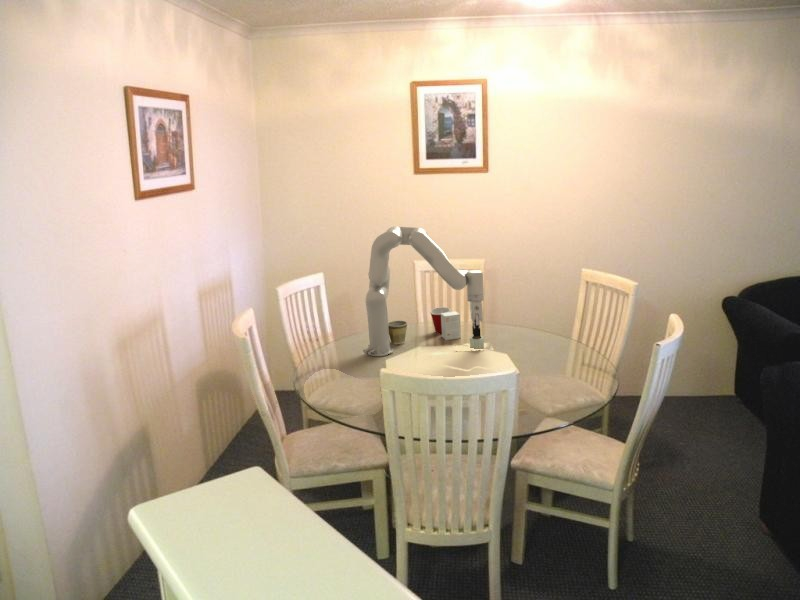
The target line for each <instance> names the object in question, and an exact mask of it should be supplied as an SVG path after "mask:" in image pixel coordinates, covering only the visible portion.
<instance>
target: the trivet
mask: <svg viewBox="0 0 800 600" xmlns="http://www.w3.org/2000/svg"><path fill="white" fill-rule="evenodd" d="M456 345H468V346H470V342H467V343H453V344H452V346H456ZM483 349H488V350H491V351H494V347H493V345H492V343H491V341H488V342H485V341H484V348H483Z"/></svg>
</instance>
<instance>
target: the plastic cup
mask: <svg viewBox="0 0 800 600" xmlns="http://www.w3.org/2000/svg"><path fill="white" fill-rule="evenodd" d="M447 312H451V307H450V308H449V307H445V306H444V307H443V306H442V307H441V306H440V307H434V308H432V309H430V310H429V313H430V315H431V318H432V319H431V320H432V324H433V327H434V332H435V333H436V332H438V333H442V327H441V313H447ZM438 333H437V334H438Z"/></svg>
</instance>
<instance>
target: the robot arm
mask: <svg viewBox="0 0 800 600" xmlns="http://www.w3.org/2000/svg"><path fill="white" fill-rule="evenodd" d="M400 245H402V246H411V247H412V248H413V249H414V250H415V251H416V252H417V253H418V254H419V255H420V257H422V258H423V259H424V260H425V261H426V262H427V263H428V265H430V267H432V269H433V270H434V271H435V272H436V273H437V274H438V275H439V277H440V278H441V279H442V280H443V281H444V282H445V283H446V284H447V285H448V286H449V287H450V288H451V289H453V290H456V291H461V290H463V289H464V288H466V301H467V302H469V310H470V311H469V312H470V319H471V322H472V324H473V323H474V328H473V325H472V327H471V329H472V336H474V337H479V336H481V323H483V322H484V320H483V319H484V318H483V315H484V314H483V303H482V302H483V301H484V273H483V271H481V270H479V269H471V270H463V269H457V268H456V267H455V266H454V265H453V264H452V263H451V262H450V260H449V259H448V257H447V255H446V253H445V252H444V250H443V249H442V248H441V247H440V246H438V245H437V243H435V242H434V241H433V239H432V238H431V237H430V236H429V235H428V232H427V231H426V230H425V229H424V228H421V227H414V226H411V227H409V226H391V227H389V228H388V229H387V230H386V231H385V232H383V233H381V234H380V235H378V236H377V237H376V238H375V239H374V240H373V242H372V245H371V248H370V249H371V250H370V258H369V259H370V260H369V269H368V275H367V276H368V280H369V282H368V284H369V286H368V290H367V293H366V294H365V307H366V315H367V325H368V327H367V328H368V339H369V344H368V347H367V348H365V349H363V351H362V352H363V354H367V355H369V356H371V357H385V356H389V355H391V354H393V353H394V348H393V347H392V346H391V343H390V342H391V340H390V336H389V326H388V322H389V314H388V305H387V304H388V303H387V302H388V301H387V300H388V297H389V291H390V280H391V276H390V275H391V269H390V266H389V260H390V252H391V250H393V249H395V248H398V247H399V246H400ZM475 321H476V322H475ZM475 323H476V324H475ZM392 352H393V353H392ZM390 353H391V354H390ZM388 354H389V355H388Z"/></svg>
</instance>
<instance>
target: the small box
mask: <svg viewBox="0 0 800 600" xmlns="http://www.w3.org/2000/svg"><path fill="white" fill-rule="evenodd" d="M441 327H442V334H441V337H442V338H443V339H444V340H445V341H449V340H457V339H461V338H462V335H461V333H462V332H461V315H460V313H459V312H458V311H456V310H455V311H450V312H447V313H441Z"/></svg>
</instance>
